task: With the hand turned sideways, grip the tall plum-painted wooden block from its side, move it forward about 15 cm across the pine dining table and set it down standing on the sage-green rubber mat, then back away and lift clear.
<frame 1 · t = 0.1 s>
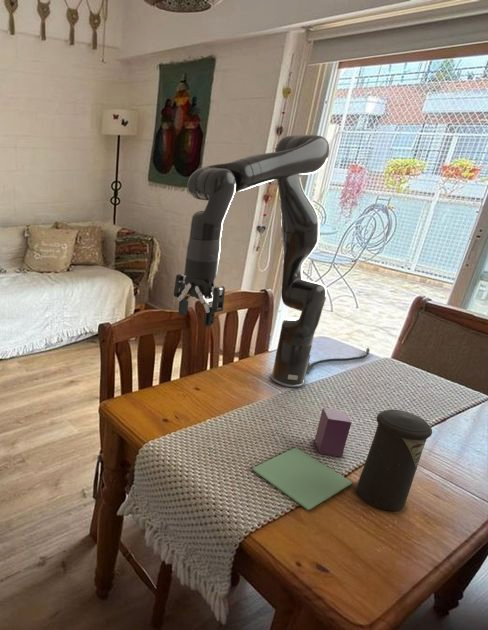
hand: (194, 320, 110), 29 cm above the table, tool pointing down, fingers open, 8 cm apart
container: (378, 497, 94), on the table
mat: (301, 476, 99), on the table
block: (327, 449, 109), on the table
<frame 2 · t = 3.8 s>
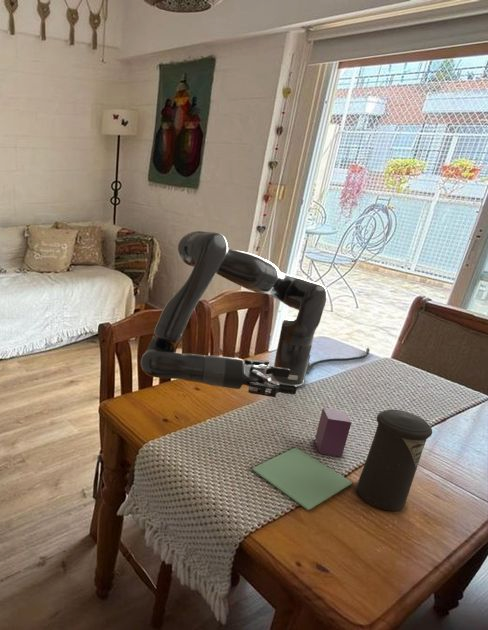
hand: (292, 381, 105), 17 cm above the table, tool horizontal, fingers open, 8 cm apart
nothing on the table moved.
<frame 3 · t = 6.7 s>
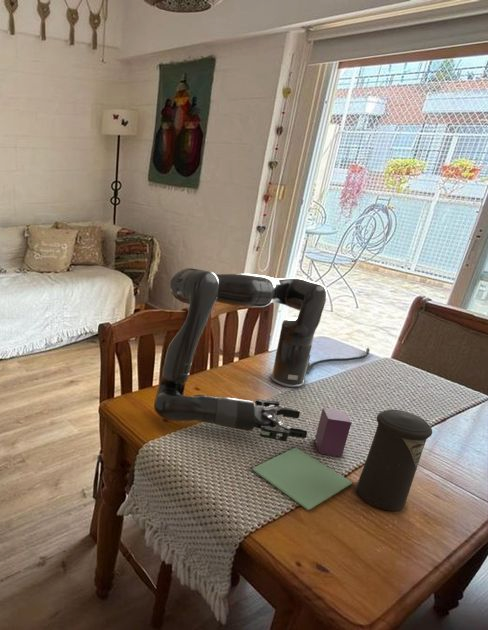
hand: (302, 423, 108), 6 cm above the table, tool horizontal, fingers open, 8 cm apart
nothing on the table moved.
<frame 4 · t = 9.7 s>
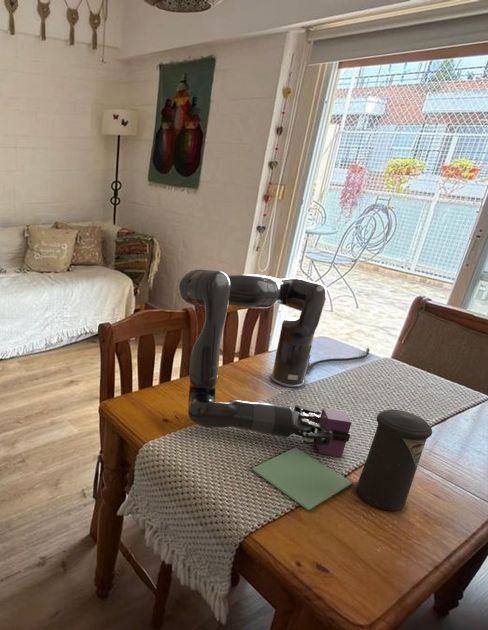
hand: (345, 430, 106), 6 cm above the table, tool horizontal, fingers closed on block, 5 cm apart
block: (327, 449, 109), on the table, touching gripper
everything else where it was.
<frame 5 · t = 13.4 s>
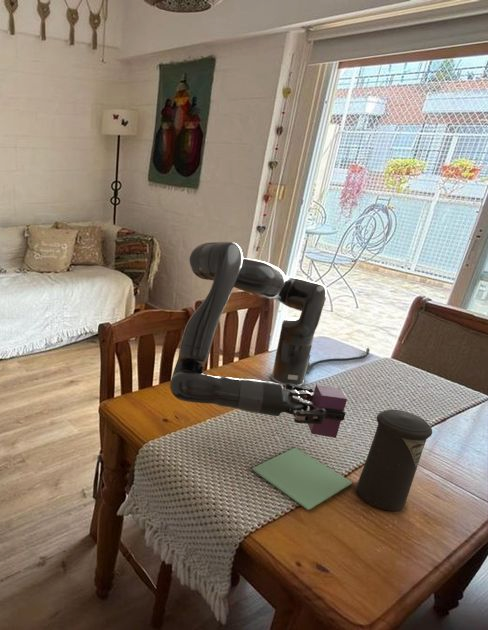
hand: (339, 408, 97), 16 cm above the table, tool horizontal, fingers closed on block, 5 cm apart
block: (320, 429, 100), point 10 cm above the table, touching gripper
everything else where it was.
when the fingers open (6 cm above the table, at t = 17.4 s): block stays where it is, resting on mat.
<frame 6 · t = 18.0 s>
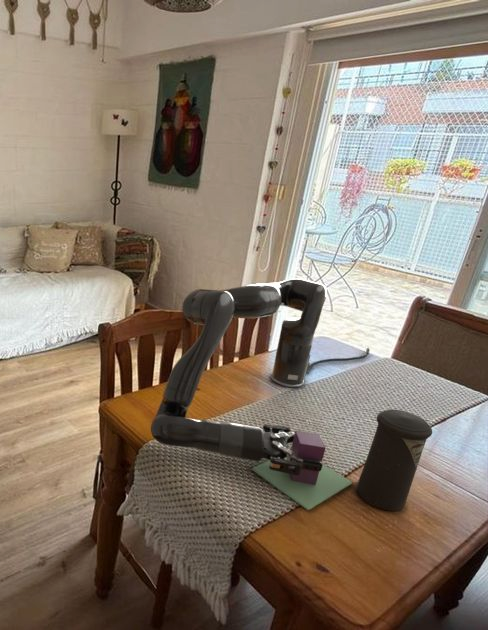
hand: (316, 453, 97), 7 cm above the table, tool horizontal, fingers open, 8 cm apart
block: (300, 475, 99), resting on mat
everything else where it was.
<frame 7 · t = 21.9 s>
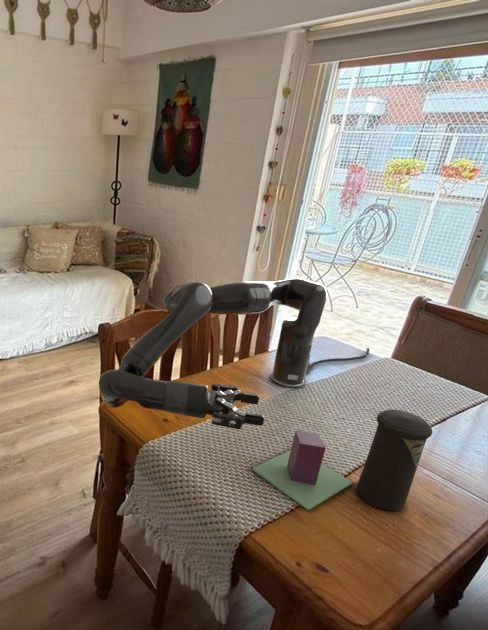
hand: (260, 409, 97), 16 cm above the table, tool horizontal, fingers open, 8 cm apart
nothing on the table moved.
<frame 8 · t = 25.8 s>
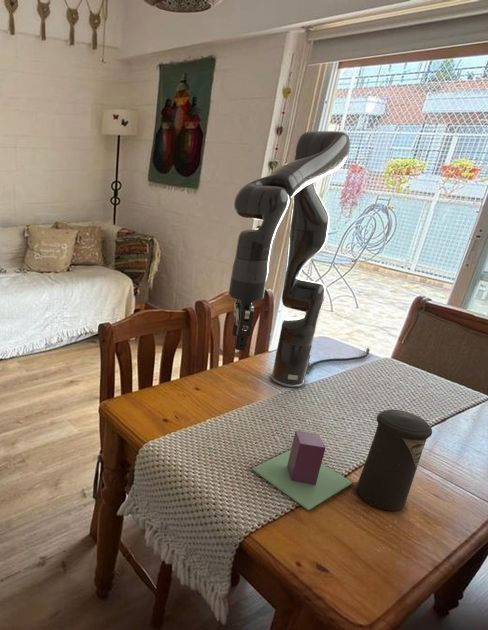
hand: (238, 342, 105), 26 cm above the table, tool pointing down, fingers open, 8 cm apart
nothing on the table moved.
at the end: block inside the target area (0.1 cm from its centre), resting on mat; block moved 15.4 cm from its start; block tilted 0° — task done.
